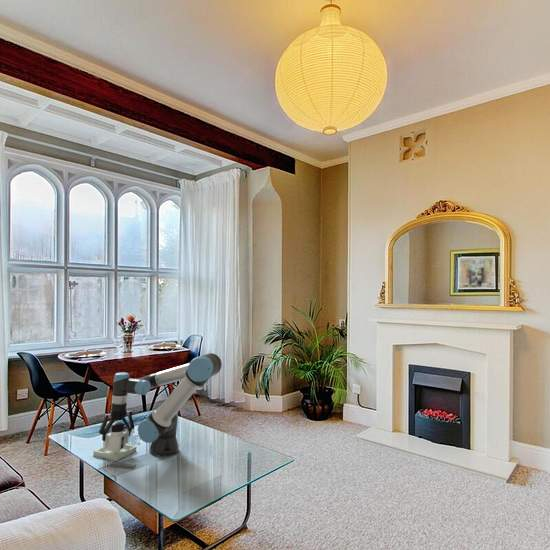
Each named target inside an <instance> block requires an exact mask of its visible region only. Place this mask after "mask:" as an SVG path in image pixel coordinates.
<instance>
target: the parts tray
mask: <svg viewBox="0 0 550 550" xmlns="http://www.w3.org/2000/svg"><path fill="white" fill-rule="evenodd" d="M135 452H137V446H135V445H133V444H129V443H128V444H127V443H126V446H125V447H124V448H123V449H122V450H120V451H119V452H116V451H108V450H105V447H104V446H103V445H102V446H101V447H99V448H97V449H95V450H93V454H92V455H93V457H97V458H99V459H100V458H101V459H104V460H105V459H106V460H108V461H112V462H119V461H121V460H123V459H124V458H127V457H128V456H130V455H132V454H133V453H135Z"/></svg>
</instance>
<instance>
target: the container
mask: <svg viewBox="0 0 550 550" xmlns="http://www.w3.org/2000/svg"><path fill="white" fill-rule="evenodd" d="M124 429H125V424H124V422H121V421H120V422H119V421H115V422H114V423H113V424H112V426H111V427H110V429H109V431H110V432H109V433H107V435H108V437H107V448H105V450H108V451H116V452H119V451H120V450H122V449H123V448H124V447H125V446H126V444H127V443H126V436H127V432H126V431H124Z"/></svg>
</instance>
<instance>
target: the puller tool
mask: <svg viewBox="0 0 550 550" xmlns="http://www.w3.org/2000/svg"><path fill="white" fill-rule="evenodd" d="M109 467H110V468H118V469H128V470H135V469H136V467H137V464H136V463H129V462H128V463H127V462H119V461H117V462H116V461H112V462H111V463H109Z"/></svg>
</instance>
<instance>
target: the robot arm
mask: <svg viewBox="0 0 550 550" xmlns="http://www.w3.org/2000/svg"><path fill="white" fill-rule="evenodd" d="M222 365H223V364H222V360H221V358H220V356H218V355H217V354H215V353H212V352H209V353H206V354H204V355H198V356H196V357H194V358H193V359H191V361H190V362H188V363H185V364H182V365H178V366H175V367H171V368H168V369H165V370H161V371H158V372H155V373H154V372H153V373H151V374H148V375H145V376H142V377H138V378H133V377H130V374H129V373H128V372H124V371H122V372H117V373H115V374H114V377H113V381H112V382H113V383H112V396H111V407H110V408H111V409H110V410H111V411H110V413H108V414H107V413H104V418H103V420H102V422H101V425H100V428H99V431H98V433H99V434H100V435H102V436H101V437H102V438H101V440H102V441H103V445H102V447H103V446H104V447H105V448H107V437H108V432H109V431H110V430H111V426H112V424H113V423H116V422H119V421H122V423H123V424H124V427H126V429H125V432H127V436H126V444H128V445H129V439H130V438H129V437H130V436H131V432H132V430H134V429H135V423H134V421H133V412H132V411H131V409H130V410H127V405H128V396H129V395H128V393H130V394H135V395H139V396H142V395H143V396H145V395H148V393H149V392H150V391H151V389H155V388H159V387H163V386H165V385H169V384H173V383H176V382H179V381H180V382H179V383H178V384H177V385H176V386H175V388H174V389H173V390H172V391H171V393H170V394H169V395H168V397H167V398H166V399H165V400H164V401H163V402H162V403H161V405H160V406H159V407H157V408H155V409H153V410H152V411H151V412H150V413H149V415H148V416H147V417H146V418H145V419H143V420H141V422H139V423H138V426H137V434H138V436H139V438H140V440H141V441H142V442H144V443H148V444H150V447H149V453H150V454H151V455H153V456H157V457H169V456H173V455H175V454H177V453H178V452H179V446H180V445H179V442H178V439H177V432H178V431H177V429H178V421H179V420H178V417H179V411H180V410H181V408H182V407H183V406H184V405H185V404H186V402H187V401H188V400H189V399H190V398H191V397H192V396H193V395H194V393H195V391H197V389H198V388H202V387H204V385H206V383H207V382H208V381H209V380H210V378H211V377H214V376H215V375H218V374H219V373H220V372H221V369H222ZM126 415H127V417H128V418H127V419H128V420H127V419H126Z"/></svg>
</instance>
